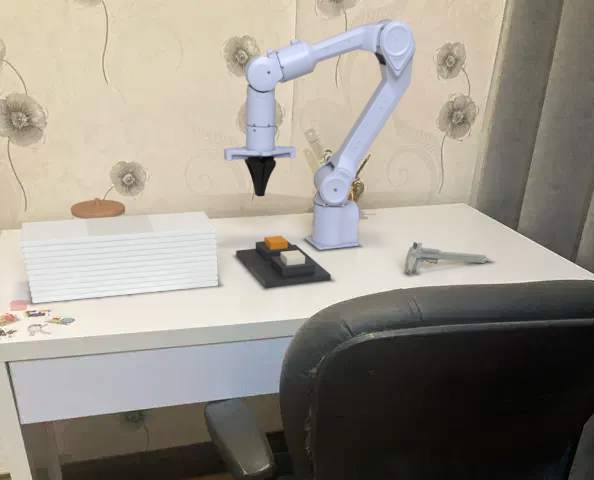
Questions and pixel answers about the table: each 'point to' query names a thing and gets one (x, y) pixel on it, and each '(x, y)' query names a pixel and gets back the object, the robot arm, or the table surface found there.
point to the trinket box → (97, 209)
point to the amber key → (276, 242)
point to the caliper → (436, 257)
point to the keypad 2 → (289, 273)
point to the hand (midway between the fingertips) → (259, 195)
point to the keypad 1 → (263, 254)
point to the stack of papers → (119, 255)
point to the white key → (292, 257)
